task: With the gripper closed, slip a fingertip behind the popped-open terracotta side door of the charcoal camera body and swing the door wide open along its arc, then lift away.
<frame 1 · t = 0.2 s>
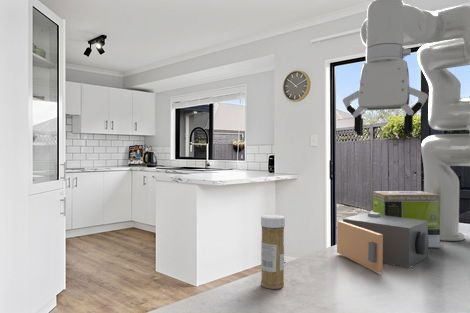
hand: (382, 135, 80), 30 cm above the countertop, tool pointing down, fingers open, 9 cm apart
sprinkles bottle: (272, 286, 70), on the countertop
tea box: (404, 244, 104), on the countertop
camera body: (384, 255, 91), on the countertop
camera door: (356, 244, 84), point 4 cm above the countertop, hinge at 30.0°
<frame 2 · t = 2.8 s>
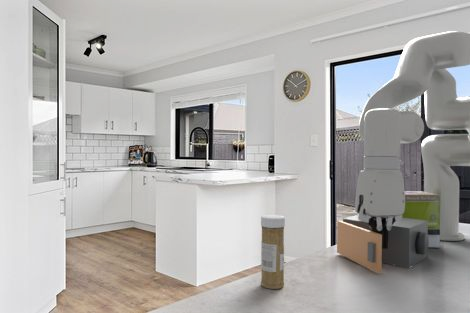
hand: (379, 247, 81), 5 cm above the countertop, tool pointing down, fingers closed
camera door: (355, 244, 84), point 4 cm above the countertop, hinge at 30.8°, touching gripper
everything else where it was.
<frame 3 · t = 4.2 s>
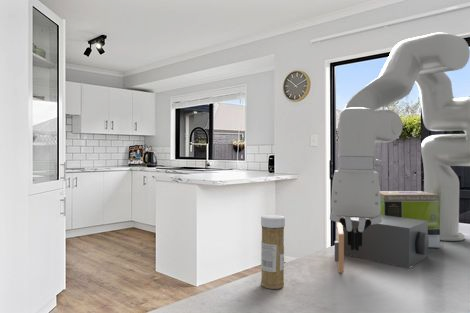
hand: (354, 248, 79), 5 cm above the countertop, tool pointing down, fingers closed
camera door: (337, 243, 84), point 4 cm above the countertop, hinge at 60.0°, touching gripper
everything else where it was.
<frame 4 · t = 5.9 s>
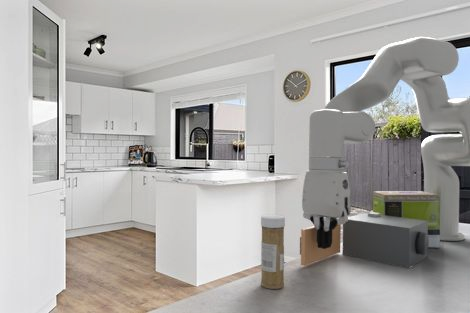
hand: (324, 247, 81), 5 cm above the countertop, tool pointing down, fingers closed
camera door: (320, 241, 87), point 4 cm above the countertop, hinge at 90.5°
everything else where it was.
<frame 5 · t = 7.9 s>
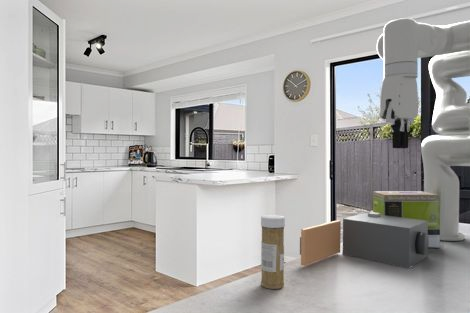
hand: (400, 148, 89), 27 cm above the countertop, tool pointing down, fingers closed
nothing on the countertop moved.
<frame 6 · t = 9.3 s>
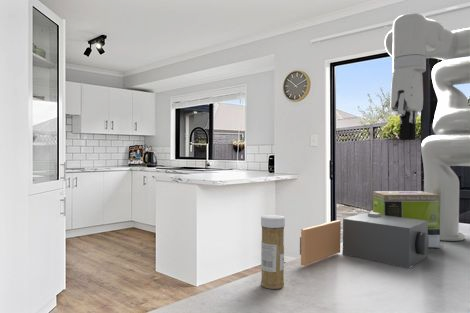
hand: (407, 139, 91), 29 cm above the countertop, tool pointing down, fingers closed
nothing on the countertop moved.
at the end: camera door at +90° (first picture: +30°); tea box moved 0.0 cm from its start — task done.
